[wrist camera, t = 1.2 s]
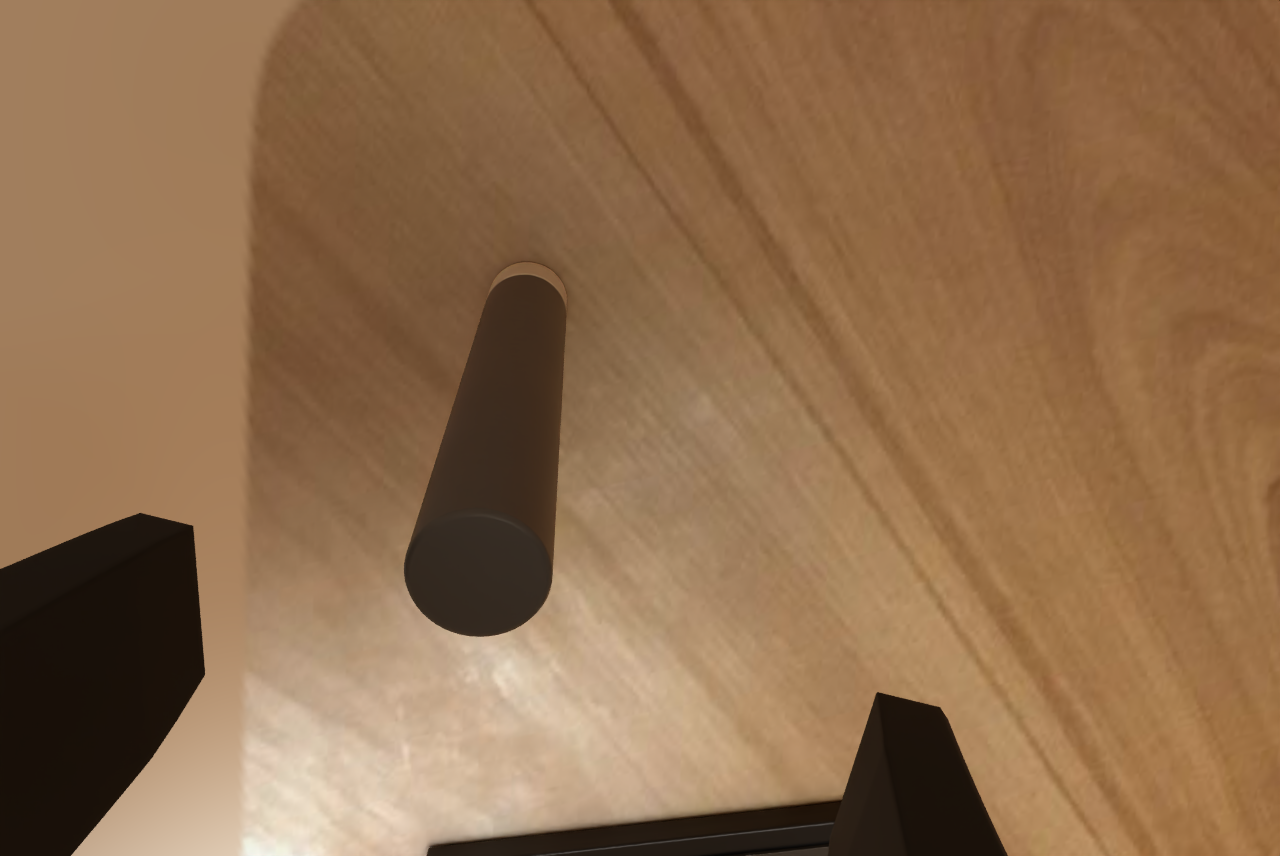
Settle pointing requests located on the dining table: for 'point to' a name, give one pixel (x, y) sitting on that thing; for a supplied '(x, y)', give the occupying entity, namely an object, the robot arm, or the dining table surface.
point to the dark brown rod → (497, 467)
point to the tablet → (679, 837)
